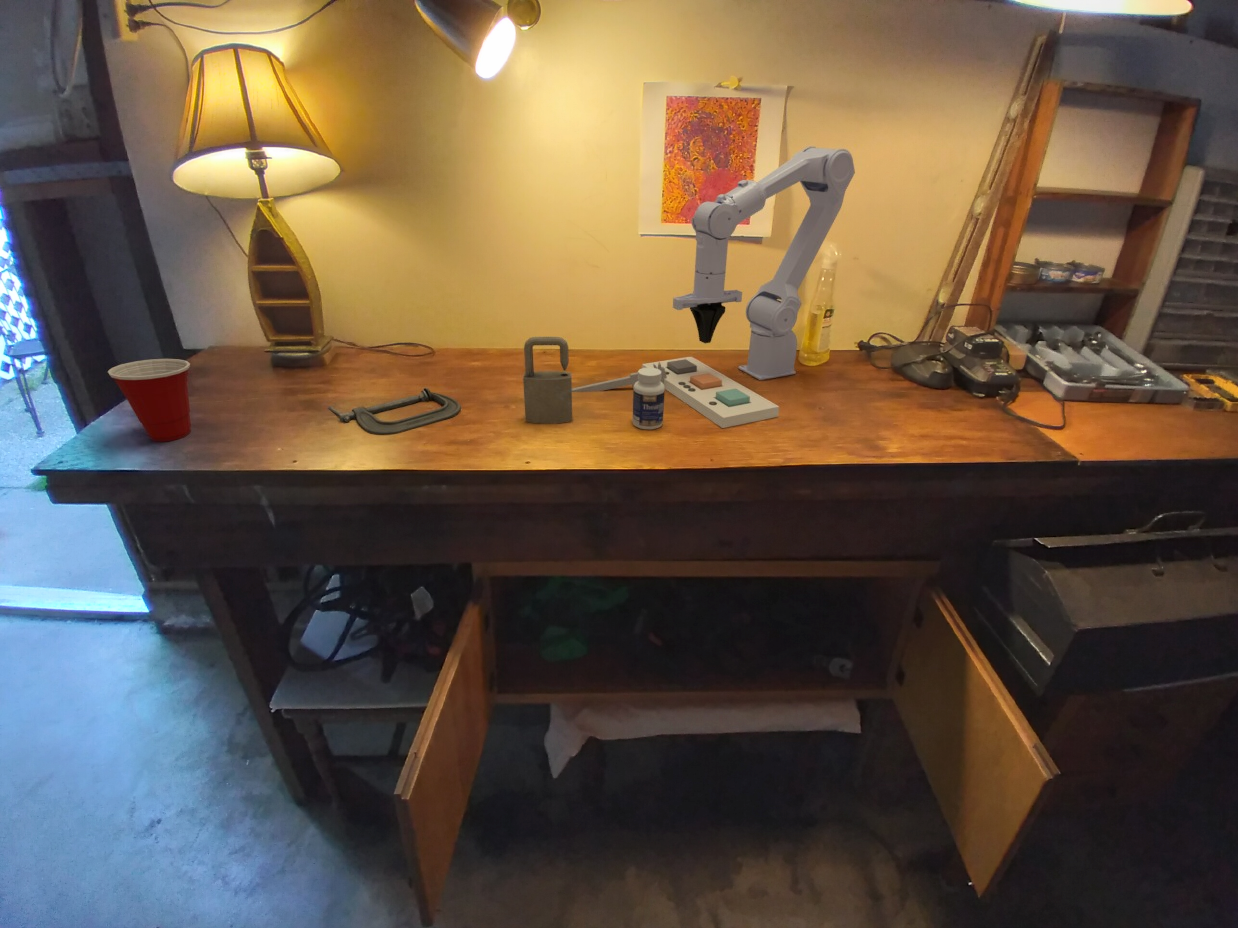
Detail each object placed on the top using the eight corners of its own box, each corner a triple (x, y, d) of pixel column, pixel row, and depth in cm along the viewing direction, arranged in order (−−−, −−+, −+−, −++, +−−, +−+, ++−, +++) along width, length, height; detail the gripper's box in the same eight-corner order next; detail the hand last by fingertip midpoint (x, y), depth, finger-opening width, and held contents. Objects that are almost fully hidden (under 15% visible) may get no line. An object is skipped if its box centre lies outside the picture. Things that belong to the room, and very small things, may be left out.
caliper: (664, 391, 132) (666, 361, 129) (666, 393, 131) (667, 363, 128) (563, 396, 129) (562, 365, 126) (564, 398, 128) (563, 367, 125)
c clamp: (355, 446, 107) (352, 431, 106) (328, 411, 120) (325, 397, 118) (471, 419, 118) (469, 404, 116) (435, 389, 130) (433, 376, 129)
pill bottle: (641, 432, 112) (643, 379, 108) (626, 421, 116) (628, 368, 112) (668, 427, 114) (671, 374, 110) (653, 415, 119) (655, 364, 114)
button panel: (690, 365, 143) (691, 355, 142) (777, 416, 119) (779, 405, 118) (641, 373, 138) (642, 363, 137) (722, 428, 114) (723, 417, 113)
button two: (684, 372, 138) (685, 359, 137) (695, 379, 135) (696, 365, 133) (666, 375, 136) (667, 362, 135) (677, 382, 133) (678, 368, 131)
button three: (708, 387, 131) (709, 373, 130) (720, 395, 128) (722, 380, 126) (689, 390, 129) (690, 376, 128) (701, 398, 126) (702, 383, 124)
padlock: (572, 423, 115) (570, 340, 108) (525, 424, 115) (520, 340, 108) (572, 414, 119) (570, 333, 112) (526, 414, 118) (522, 333, 111)
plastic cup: (224, 424, 113) (204, 357, 107) (172, 452, 103) (147, 380, 98) (172, 417, 115) (150, 351, 109) (116, 443, 106) (89, 373, 100)
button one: (734, 403, 124) (735, 388, 122) (748, 411, 120) (750, 396, 119) (714, 407, 122) (716, 392, 121) (728, 415, 119) (729, 400, 117)
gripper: (729, 264, 129) (723, 331, 135) (665, 270, 123) (662, 340, 130) (751, 271, 124) (744, 341, 130) (686, 278, 118) (681, 351, 124)
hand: (704, 341), depth 129 cm, fingers closed
